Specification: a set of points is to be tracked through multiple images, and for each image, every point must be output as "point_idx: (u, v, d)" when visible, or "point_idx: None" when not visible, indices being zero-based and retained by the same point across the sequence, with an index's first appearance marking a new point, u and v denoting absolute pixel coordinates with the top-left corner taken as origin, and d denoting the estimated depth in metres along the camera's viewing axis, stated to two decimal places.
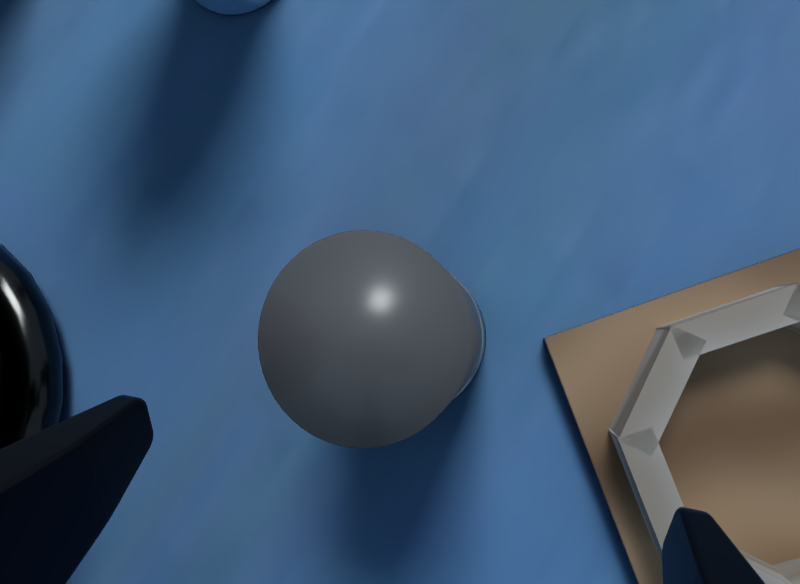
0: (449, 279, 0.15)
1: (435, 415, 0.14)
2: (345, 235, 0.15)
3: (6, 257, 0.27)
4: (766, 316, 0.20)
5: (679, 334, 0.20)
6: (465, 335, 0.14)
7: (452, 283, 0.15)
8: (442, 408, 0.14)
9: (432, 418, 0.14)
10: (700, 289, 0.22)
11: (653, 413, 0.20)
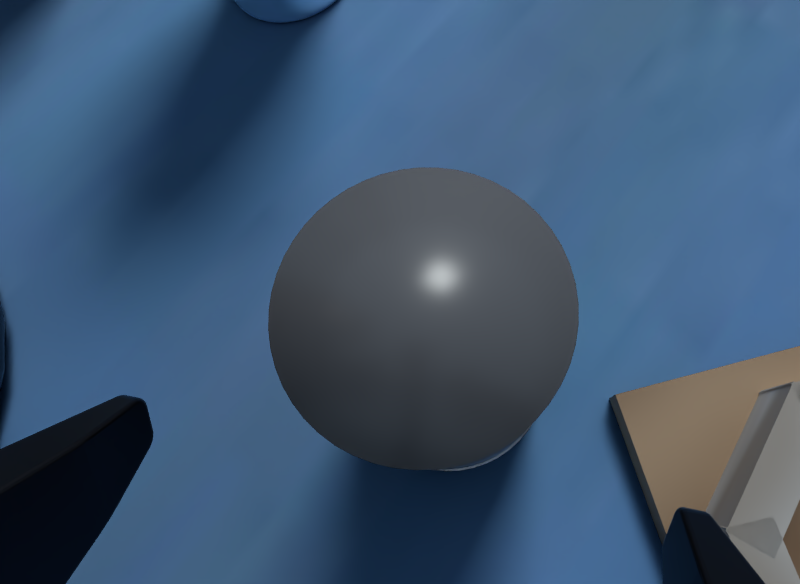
0: (552, 236, 0.10)
1: (524, 426, 0.10)
2: (409, 173, 0.11)
3: None
4: None
5: None
6: (573, 313, 0.10)
7: (556, 241, 0.10)
8: (535, 416, 0.10)
9: (519, 430, 0.10)
10: None
11: (774, 497, 0.15)
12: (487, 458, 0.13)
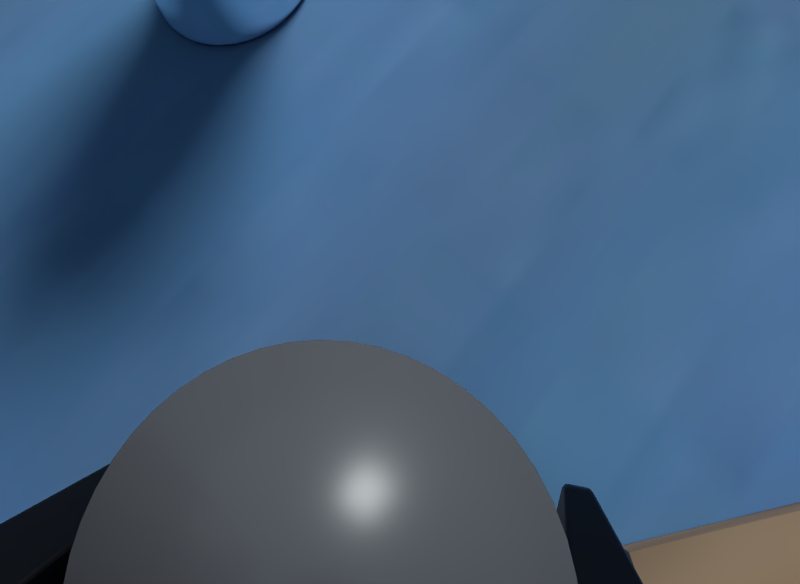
0: (537, 481, 0.06)
1: None
2: (304, 348, 0.07)
3: None
4: None
5: None
6: None
7: (544, 492, 0.06)
8: None
9: None
10: None
11: None
12: None
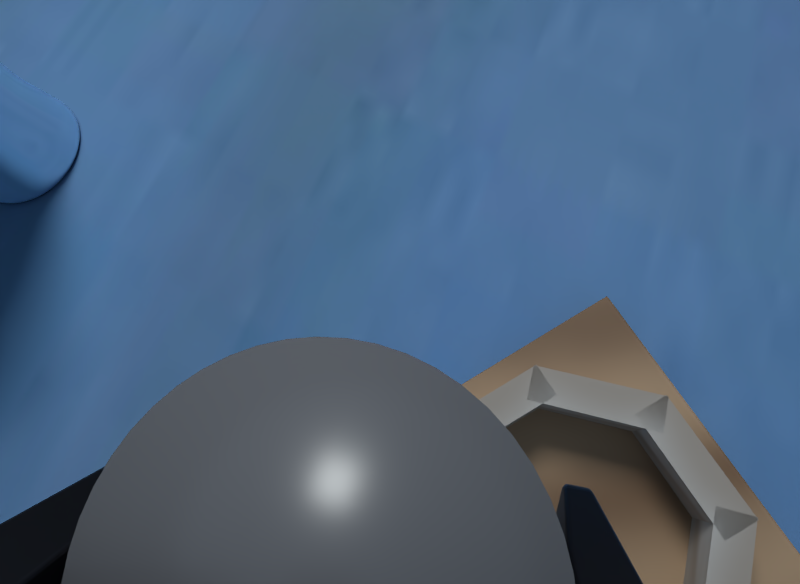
0: (534, 477, 0.06)
1: None
2: (302, 346, 0.07)
3: None
4: (512, 404, 0.20)
5: None
6: None
7: (541, 488, 0.06)
8: None
9: None
10: (466, 387, 0.22)
11: None
12: None
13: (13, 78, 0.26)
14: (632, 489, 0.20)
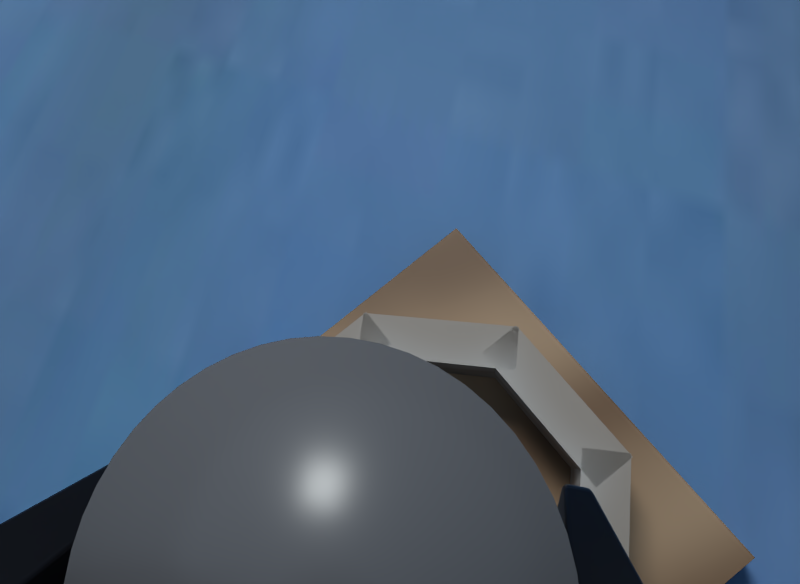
0: (538, 477, 0.06)
1: None
2: (305, 345, 0.07)
3: None
4: None
5: None
6: None
7: (544, 487, 0.06)
8: None
9: None
10: None
11: None
12: None
13: None
14: None
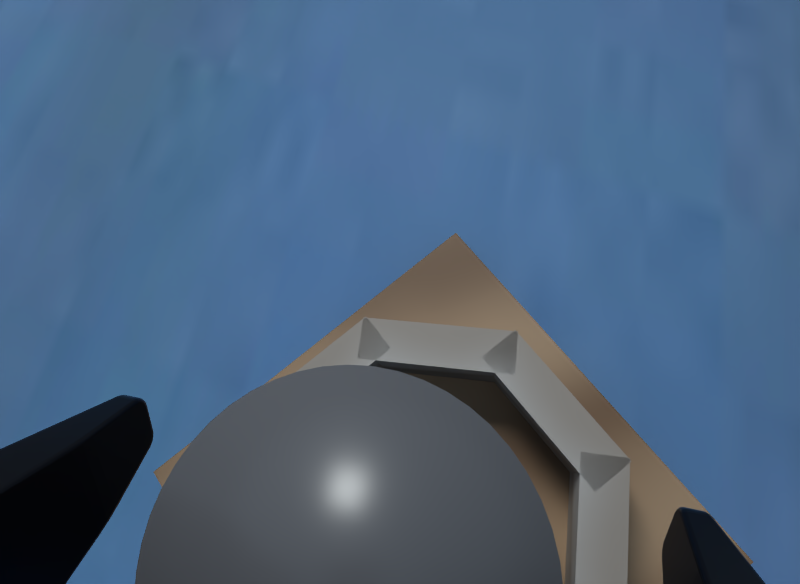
0: (528, 482, 0.07)
1: None
2: (335, 372, 0.08)
3: None
4: None
5: None
6: None
7: (534, 491, 0.07)
8: None
9: None
10: (306, 358, 0.19)
11: None
12: None
13: None
14: None
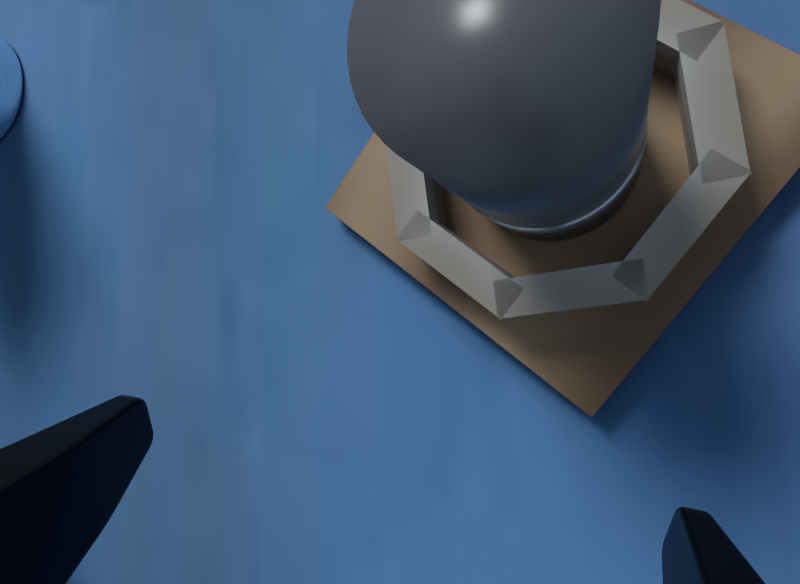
0: None
1: (625, 94, 0.09)
2: None
3: None
4: None
5: None
6: None
7: None
8: (634, 81, 0.09)
9: (621, 99, 0.09)
10: None
11: (411, 197, 0.19)
12: (600, 179, 0.13)
13: None
14: None
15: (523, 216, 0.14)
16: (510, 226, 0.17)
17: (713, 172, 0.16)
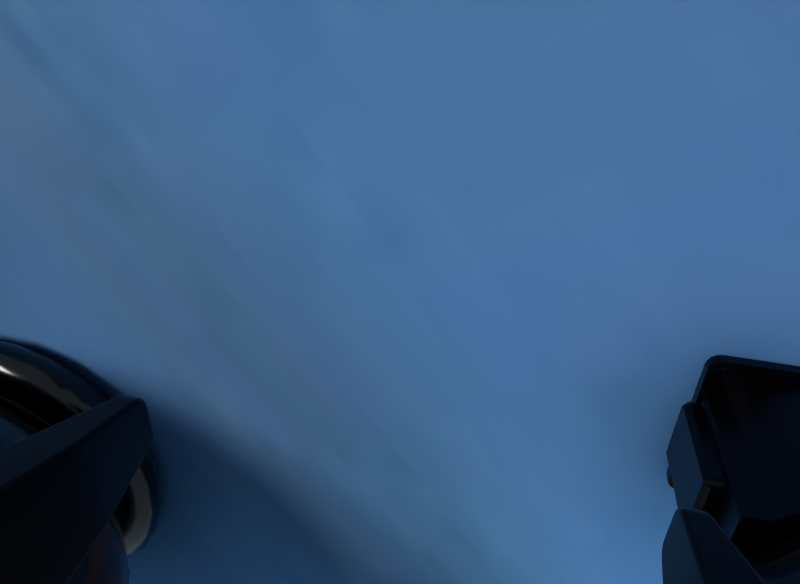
0: None
1: None
2: None
3: None
4: None
5: None
6: None
7: None
8: None
9: None
10: None
11: None
12: None
13: None
14: None
15: None
16: None
17: None
